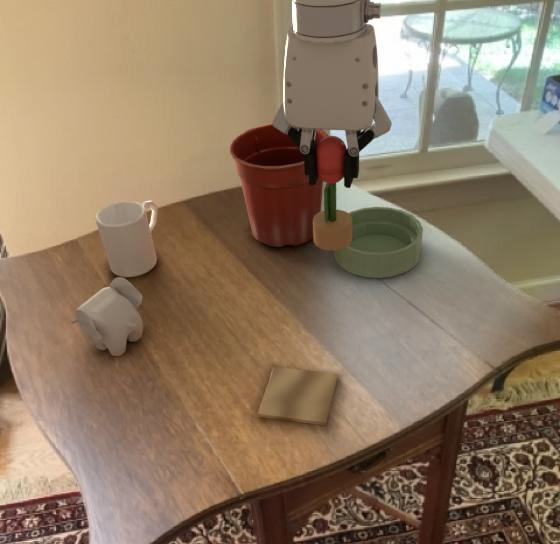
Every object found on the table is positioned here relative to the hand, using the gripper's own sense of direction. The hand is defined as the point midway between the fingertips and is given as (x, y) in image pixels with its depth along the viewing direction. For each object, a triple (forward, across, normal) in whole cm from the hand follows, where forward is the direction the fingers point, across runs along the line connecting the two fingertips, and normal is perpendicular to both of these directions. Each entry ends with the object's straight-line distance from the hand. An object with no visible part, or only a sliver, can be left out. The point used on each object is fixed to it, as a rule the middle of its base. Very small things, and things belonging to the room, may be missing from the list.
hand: (331, 179), depth 79 cm
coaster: (+24, +2, +14) cm, 28 cm away
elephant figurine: (+25, +32, +7) cm, 41 cm away
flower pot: (+25, +14, -26) cm, 38 cm away
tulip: (+8, 0, 0) cm, 8 cm away
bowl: (+24, -3, -20) cm, 32 cm away
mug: (+25, +37, -14) cm, 46 cm away
